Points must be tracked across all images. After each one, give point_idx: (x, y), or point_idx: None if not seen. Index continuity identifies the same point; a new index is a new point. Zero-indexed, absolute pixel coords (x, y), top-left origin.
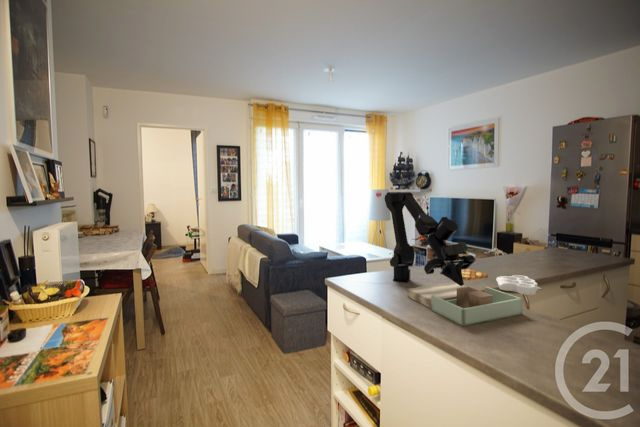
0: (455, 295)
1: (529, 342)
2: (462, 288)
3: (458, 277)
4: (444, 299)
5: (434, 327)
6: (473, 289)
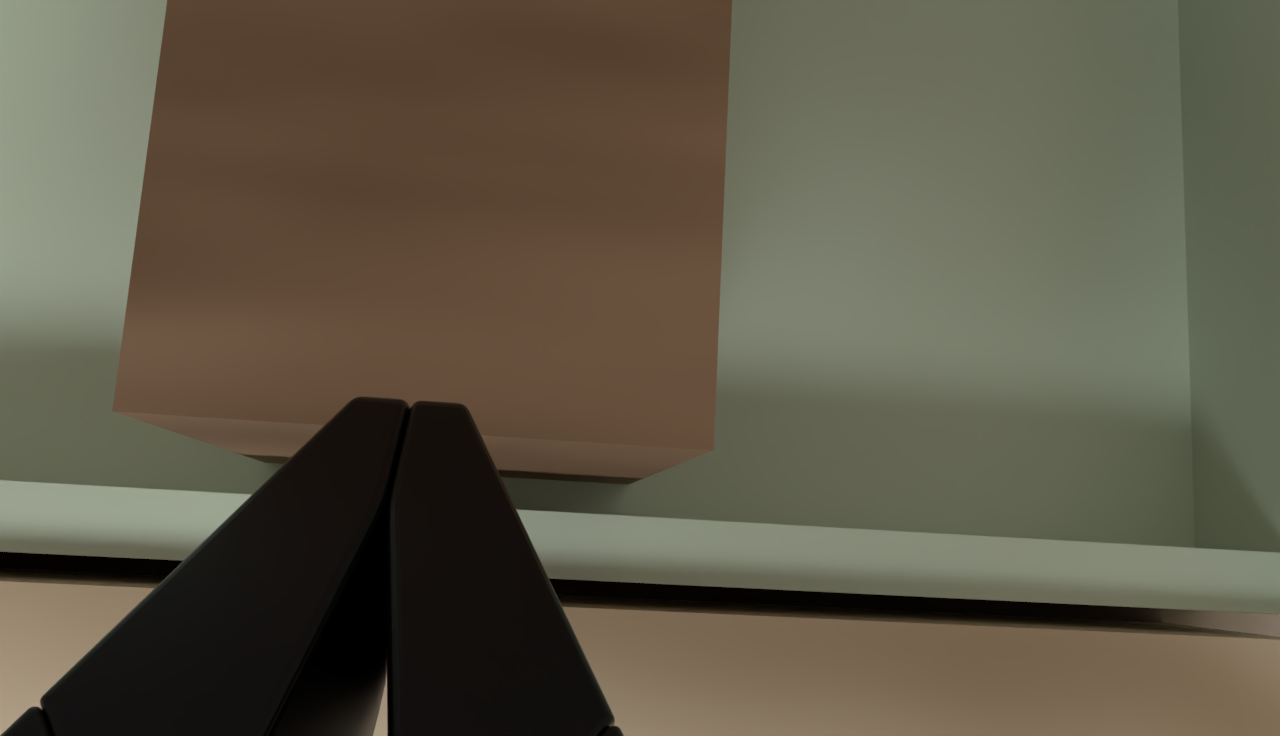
0: None
1: None
2: (511, 360)
3: (479, 619)
4: (940, 626)
5: None
6: (248, 78)
